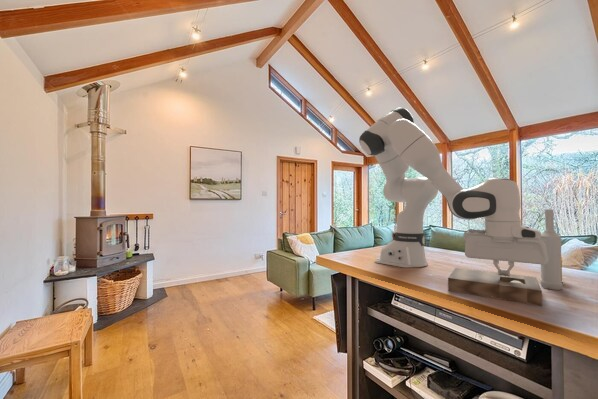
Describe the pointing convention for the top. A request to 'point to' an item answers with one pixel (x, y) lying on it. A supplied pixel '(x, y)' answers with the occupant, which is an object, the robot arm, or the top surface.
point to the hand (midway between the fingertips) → (503, 275)
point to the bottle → (551, 255)
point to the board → (496, 285)
